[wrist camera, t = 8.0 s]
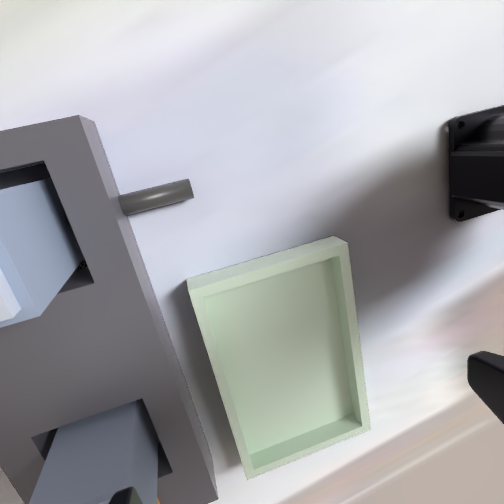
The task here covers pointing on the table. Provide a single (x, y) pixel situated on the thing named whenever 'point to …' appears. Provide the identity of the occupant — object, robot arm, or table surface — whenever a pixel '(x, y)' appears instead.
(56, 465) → the plug
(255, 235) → the table surface
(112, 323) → the strip
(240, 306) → the tray
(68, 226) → the twin plug
